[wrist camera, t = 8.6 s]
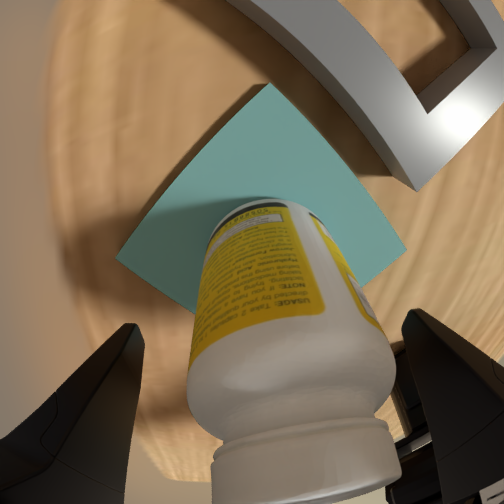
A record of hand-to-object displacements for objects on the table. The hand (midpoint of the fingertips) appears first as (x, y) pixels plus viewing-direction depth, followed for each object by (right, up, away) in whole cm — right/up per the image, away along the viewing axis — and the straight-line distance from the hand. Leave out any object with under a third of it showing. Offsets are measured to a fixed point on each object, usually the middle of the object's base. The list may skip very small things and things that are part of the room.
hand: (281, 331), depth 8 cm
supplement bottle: (0, +2, +4) cm, 5 cm away
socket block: (+5, +12, -1) cm, 14 cm away
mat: (0, +3, +4) cm, 5 cm away
